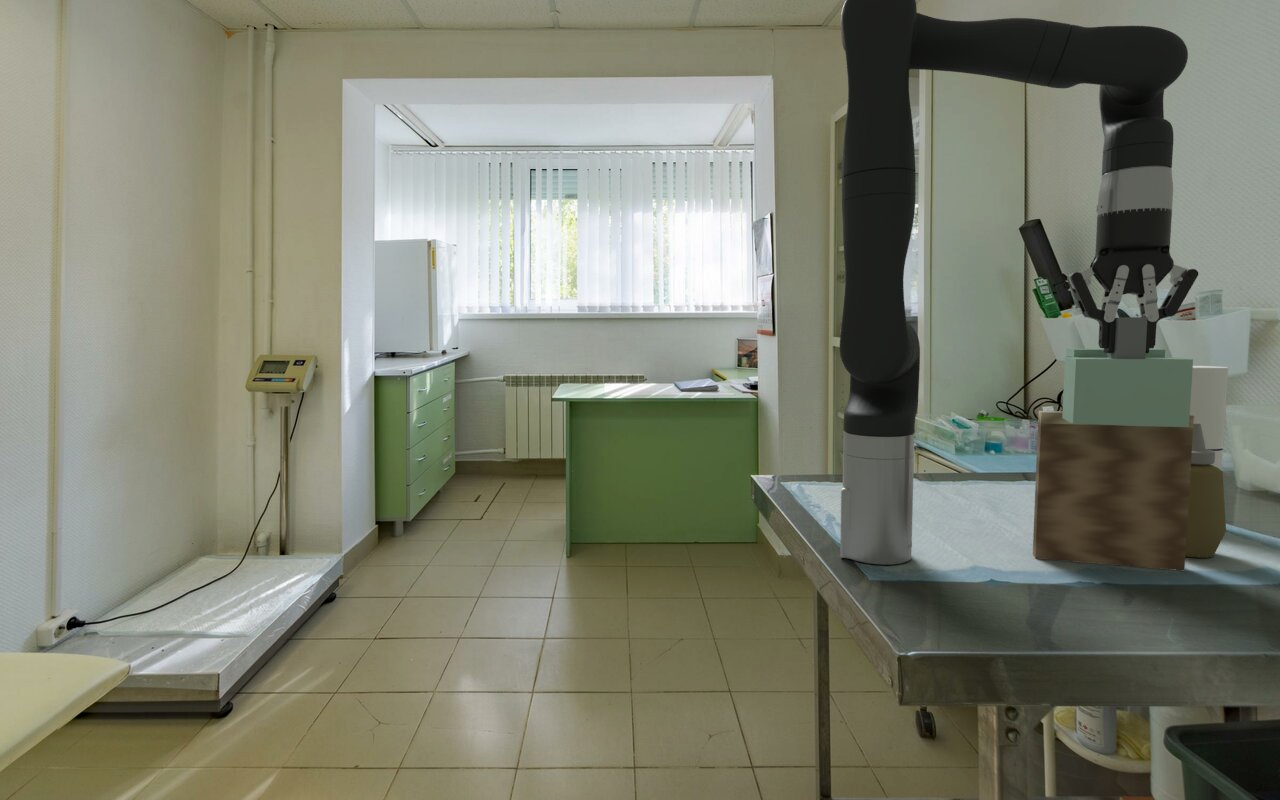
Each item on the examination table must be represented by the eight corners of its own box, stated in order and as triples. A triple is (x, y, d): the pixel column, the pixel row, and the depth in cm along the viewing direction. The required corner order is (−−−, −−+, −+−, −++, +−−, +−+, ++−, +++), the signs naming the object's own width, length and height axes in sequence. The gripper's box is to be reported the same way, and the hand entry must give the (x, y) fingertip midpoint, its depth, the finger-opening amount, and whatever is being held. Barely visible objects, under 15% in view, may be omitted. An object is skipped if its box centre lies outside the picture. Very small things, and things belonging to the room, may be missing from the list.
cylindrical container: (1228, 533, 109) (1239, 368, 107) (1175, 531, 110) (1184, 368, 108) (1201, 521, 116) (1211, 365, 114) (1152, 519, 117) (1160, 365, 115)
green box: (1072, 423, 89) (1077, 317, 88) (1054, 414, 99) (1059, 319, 98) (1188, 427, 85) (1195, 316, 84) (1157, 416, 95) (1163, 317, 94)
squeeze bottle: (1220, 549, 101) (1228, 422, 100) (1228, 565, 94) (1238, 429, 93) (1150, 541, 106) (1157, 418, 104) (1153, 555, 99) (1160, 425, 97)
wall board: (1035, 558, 98) (1041, 412, 96) (1026, 544, 105) (1031, 406, 103) (1184, 570, 93) (1193, 415, 91) (1165, 554, 99) (1173, 410, 97)
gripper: (1075, 209, 86) (1068, 354, 88) (1216, 201, 82) (1206, 354, 83) (1061, 218, 93) (1055, 352, 95) (1191, 211, 89) (1182, 352, 90)
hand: (1126, 352), depth 89 cm, fingers closed on green box, 3 cm apart
